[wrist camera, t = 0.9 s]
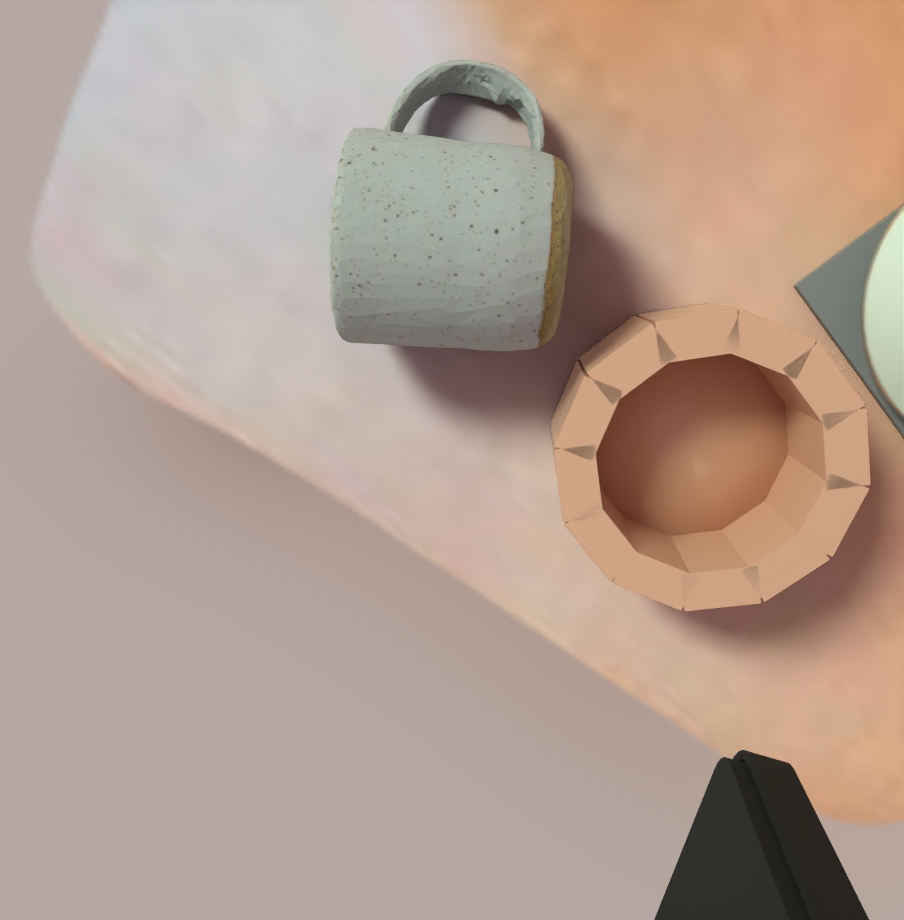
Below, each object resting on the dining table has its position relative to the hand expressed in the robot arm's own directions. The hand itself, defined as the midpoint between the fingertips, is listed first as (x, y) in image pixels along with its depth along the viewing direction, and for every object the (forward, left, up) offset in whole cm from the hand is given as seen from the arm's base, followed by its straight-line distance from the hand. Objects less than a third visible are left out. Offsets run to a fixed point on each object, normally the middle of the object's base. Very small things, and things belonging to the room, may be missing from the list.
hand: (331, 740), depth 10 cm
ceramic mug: (-4, -7, -26) cm, 27 cm away
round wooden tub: (-6, +7, -25) cm, 27 cm away
